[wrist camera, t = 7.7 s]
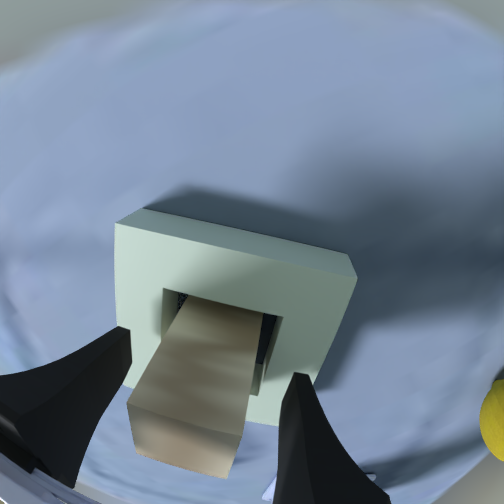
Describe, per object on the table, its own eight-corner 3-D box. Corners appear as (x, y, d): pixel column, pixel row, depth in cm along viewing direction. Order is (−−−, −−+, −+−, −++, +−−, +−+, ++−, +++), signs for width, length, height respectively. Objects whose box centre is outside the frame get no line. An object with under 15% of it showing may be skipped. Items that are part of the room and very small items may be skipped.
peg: (265, 300, 15) (242, 436, 8) (251, 353, 16) (226, 479, 9) (195, 283, 15) (126, 402, 8) (189, 337, 17) (136, 453, 9)
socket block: (347, 254, 14) (357, 278, 11) (291, 397, 17) (290, 428, 15) (141, 208, 14) (115, 223, 12) (139, 359, 18) (123, 384, 16)
